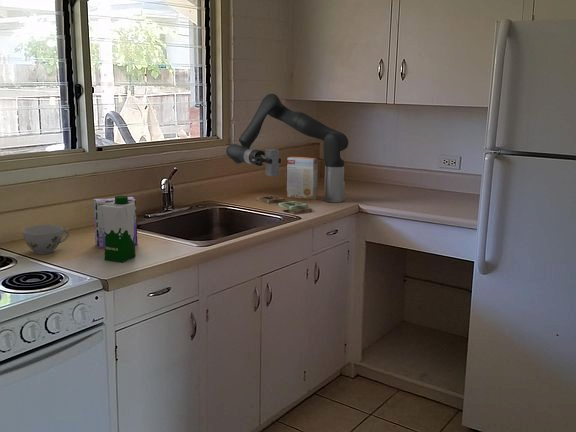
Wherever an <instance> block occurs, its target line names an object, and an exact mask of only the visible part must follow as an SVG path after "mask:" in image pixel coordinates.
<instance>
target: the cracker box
mask: <svg viewBox="0 0 576 432" xmlns="http://www.w3.org/2000/svg"><path fill="white" fill-rule="evenodd" d="M318 160H319V158H318V157H305V156H289V157H287V161H286V162H287V164H286V165H287V166H286V167H287V169H286V170H287V171H286V197H287V198H298V199H307V200H316V201H317V199H318V172H319V171H318V170H319V169H318V166H319V165H318V162H319V161H318Z"/></svg>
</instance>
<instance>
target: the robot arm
mask: <svg viewBox="0 0 576 432" xmlns="http://www.w3.org/2000/svg"><path fill="white" fill-rule="evenodd" d="M267 116H269V117H270V118H274V119H276V120H278V121H280V122H283V123H284V124H287V126H289V127H291V128H292V129H294V130H296V132H299V133H300V134H302V135H305V136H307V137H310V138H314V139H318V140H321V141H323V148H322V150H323V161H324V189H323V190H324V193H323V194H324V195H323V197H324V198H323V202H326V203H342V202H345V196H346V195H345V194H346V193H345V192H346V182H345V180H344V179H345V160H344V159H343V158H342V157H341V152H343V151H345V150H346V149H347V148H348V147H349V139H348V137H347V136H346V134H344V132H341V131H338V130H336V129H334V128H331V127H329V126H327V125H325V124H323V122H320V121H319V120H317V119H315V118H314V117H312V116H310V115H309V114H307V113H305V112H302V111H294V110H291V109H290V108H288V107H287V106H285V105H284V104H283V103H282V101H281V99H280V97H279V96H278V95H277V94H276V93H269V94H267V95H265V96H264V97H263V99H262V100H261V102H260V103H259V105H258V108H257V110H256V112H255V113H254V116H253V117H252V119H251V121H250V123H248V126H247V127H246V128H245V129H244V131H243V132H242V133H241V135H240V136H239V137H238V141H239V144H240V145H239V144H236V143H232V144H229V145H228V146H227V147H226V149H225V153H226V155H227V157H228V158H229V159H231V160H232V161H233V162H234V163H235V164H242V163H245V164H249V165H253V166H257V167H262V166H263V165H266V163H268V164H272V159H268V158H266V151H263V150H261V149H255V148H251V146H252V144H253V143H254V142H255V141H256V139H257V138H258V136H259V135H260V132H261V130H262V126H263V123H264V121H265V119H266V117H267ZM281 163H282V158H281V157H279V164H281Z"/></svg>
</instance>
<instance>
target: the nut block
mask: <svg viewBox="0 0 576 432" xmlns="http://www.w3.org/2000/svg"><path fill="white" fill-rule="evenodd" d="M265 154H266V158H268V159H272V164H268V163H266V164H265V176H267V177H268V176H269V177H279V176H280V163H279V158H280V149H276V148H269V149H265Z"/></svg>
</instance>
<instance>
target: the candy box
mask: <svg viewBox="0 0 576 432" xmlns="http://www.w3.org/2000/svg"><path fill="white" fill-rule="evenodd" d="M127 197H128V202H129V203H135V206H134V216H133V220H134V244H135V246H136V245H138V225H137V224H138V223H137V221H138V220H137V199H135V198H134V196H127ZM111 202H115V197H111V198H93V214H94V215H93V216H94V217H93V220H94V222H93V223H94V239H95V240H94V244H95V245H96V248H97V249H101V248H104V249H105V234H104V218H103V214H102V210H101V207H100V206H102V205H105V204H107V203H111Z"/></svg>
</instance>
